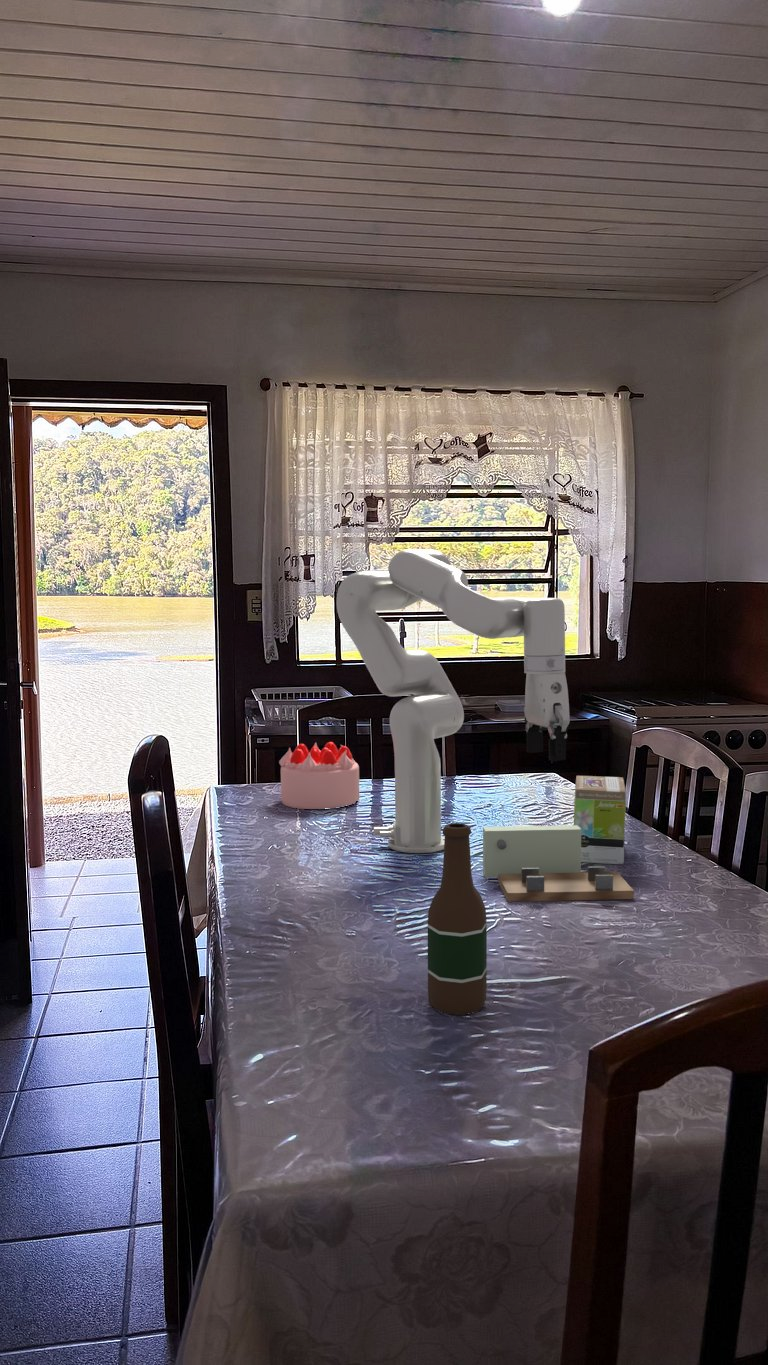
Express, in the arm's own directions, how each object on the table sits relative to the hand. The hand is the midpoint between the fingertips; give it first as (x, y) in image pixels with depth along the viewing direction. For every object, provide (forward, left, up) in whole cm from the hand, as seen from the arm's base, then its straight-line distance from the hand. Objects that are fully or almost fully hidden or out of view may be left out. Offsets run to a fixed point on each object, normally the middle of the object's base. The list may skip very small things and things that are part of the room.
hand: (545, 756), depth 184 cm
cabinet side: (+1, -10, -22) cm, 25 cm away
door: (-3, 0, -23) cm, 23 cm away
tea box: (+13, +13, -23) cm, 29 cm away
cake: (-45, +64, -23) cm, 81 cm away
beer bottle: (-23, -56, -23) cm, 65 cm away
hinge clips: (+1, -12, -21) cm, 24 cm away
